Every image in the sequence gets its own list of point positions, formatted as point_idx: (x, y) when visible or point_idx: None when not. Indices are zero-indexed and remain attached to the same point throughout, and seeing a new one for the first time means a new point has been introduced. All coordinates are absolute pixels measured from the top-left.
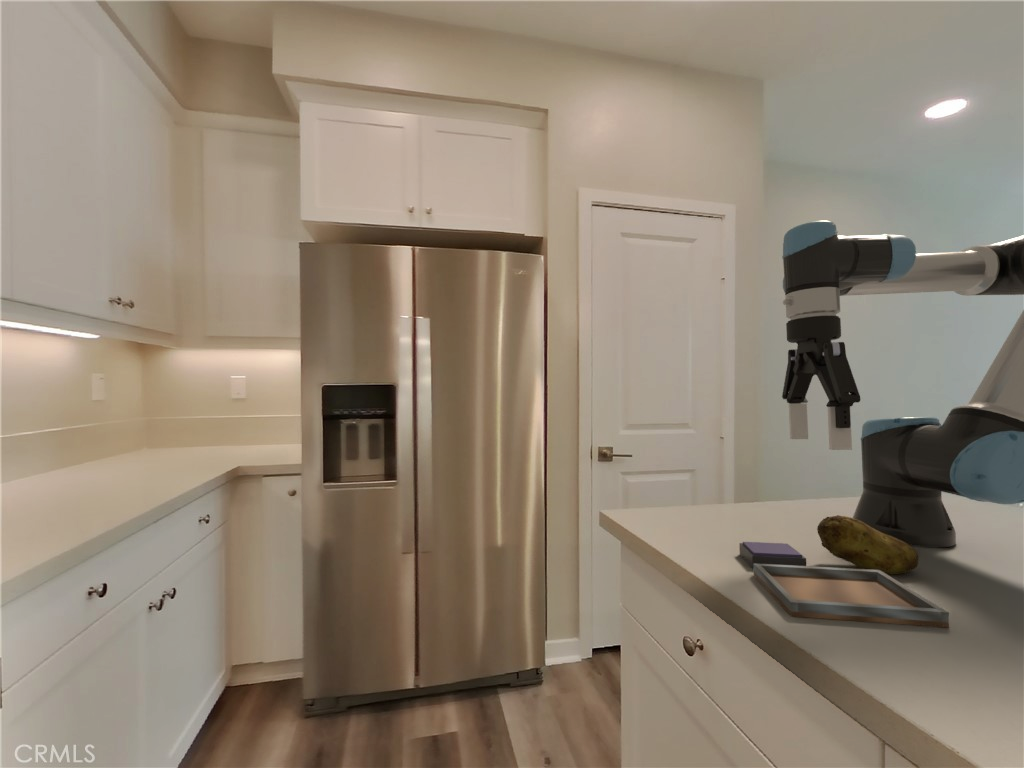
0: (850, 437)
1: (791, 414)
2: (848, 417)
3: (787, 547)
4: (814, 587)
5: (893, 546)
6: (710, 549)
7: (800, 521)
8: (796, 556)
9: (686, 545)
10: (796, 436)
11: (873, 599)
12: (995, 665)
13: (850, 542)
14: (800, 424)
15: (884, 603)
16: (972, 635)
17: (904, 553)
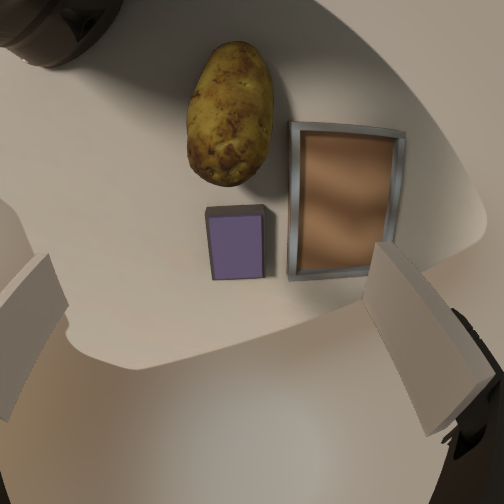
0: (415, 271)
1: (24, 379)
2: (478, 345)
3: (229, 224)
4: (330, 224)
5: (261, 80)
6: (202, 300)
7: (30, 137)
8: (261, 222)
9: (195, 322)
10: (58, 298)
11: (357, 173)
12: (443, 147)
13: (267, 151)
14: (26, 317)
15: (366, 167)
16: (407, 121)
17: (264, 68)
